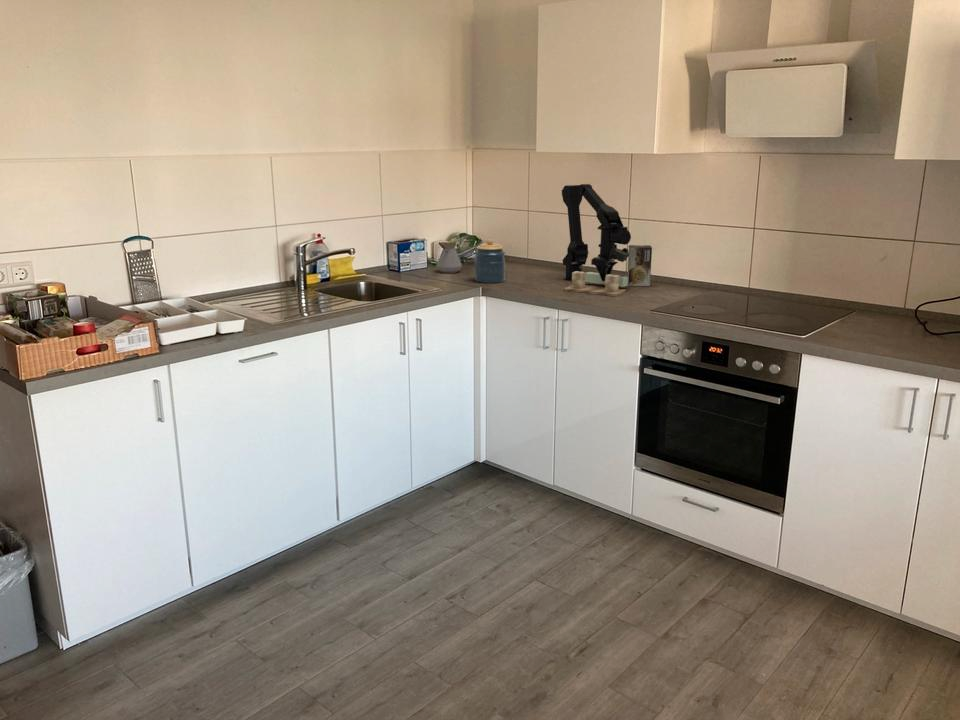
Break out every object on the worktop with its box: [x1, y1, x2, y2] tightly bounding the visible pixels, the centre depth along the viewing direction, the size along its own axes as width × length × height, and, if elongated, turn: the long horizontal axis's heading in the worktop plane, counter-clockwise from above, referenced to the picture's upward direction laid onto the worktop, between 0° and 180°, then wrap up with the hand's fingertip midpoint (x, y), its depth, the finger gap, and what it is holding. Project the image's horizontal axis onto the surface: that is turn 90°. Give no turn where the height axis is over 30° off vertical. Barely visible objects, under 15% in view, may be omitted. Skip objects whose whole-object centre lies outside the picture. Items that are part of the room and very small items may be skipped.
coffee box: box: [626, 244, 653, 287], centre depth 315 cm, size 9×6×16 cm
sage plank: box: [585, 271, 628, 288], centre depth 312 cm, size 18×4×4 cm, turn 51°
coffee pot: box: [436, 242, 463, 274], centre depth 339 cm, size 21×12×15 cm, turn 166°
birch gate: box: [563, 271, 627, 297], centre depth 302 cm, size 22×11×7 cm, turn 60°
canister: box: [474, 238, 506, 284], centre depth 322 cm, size 13×13×18 cm
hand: (605, 280), depth 312 cm, fingers closed on sage plank, 4 cm apart
